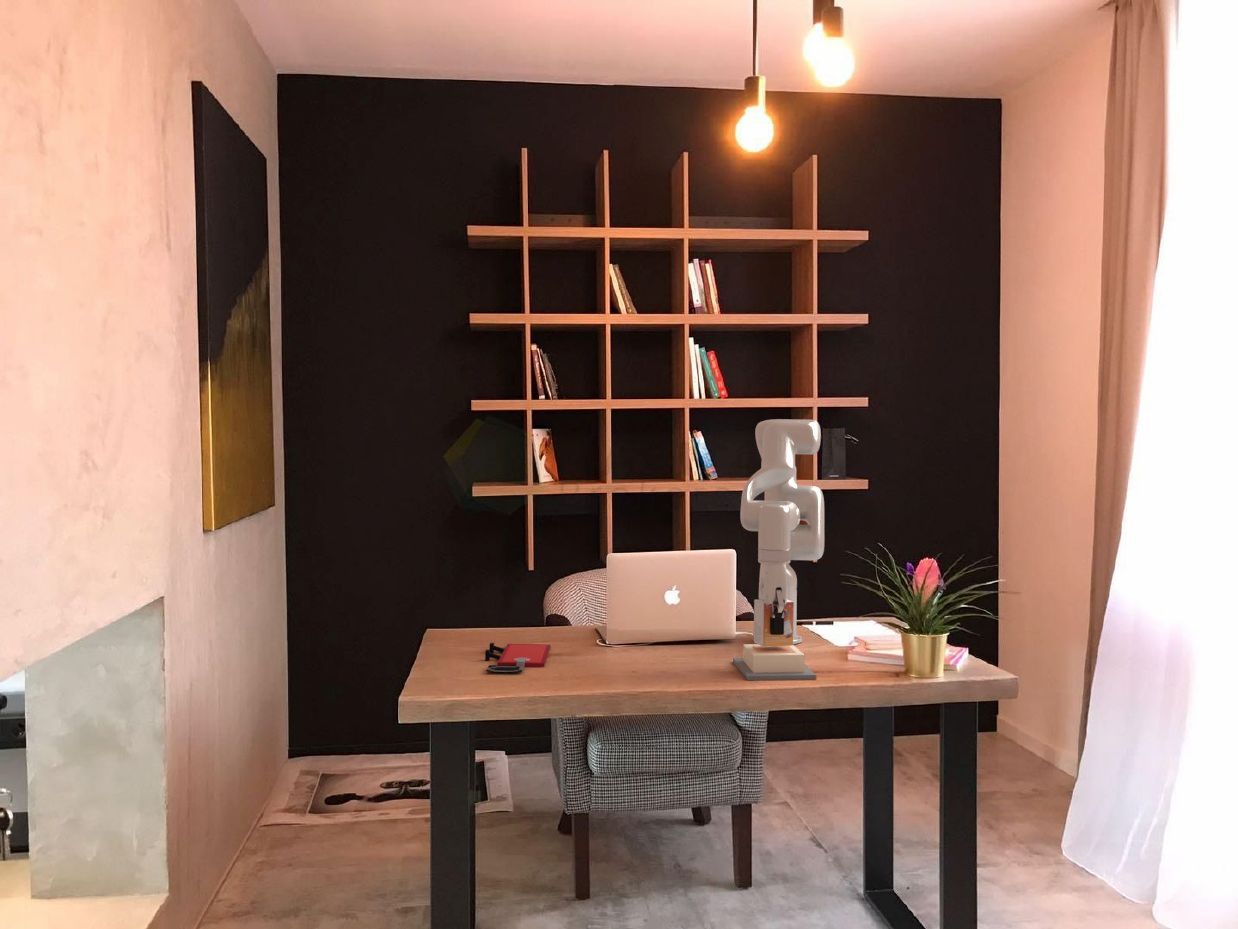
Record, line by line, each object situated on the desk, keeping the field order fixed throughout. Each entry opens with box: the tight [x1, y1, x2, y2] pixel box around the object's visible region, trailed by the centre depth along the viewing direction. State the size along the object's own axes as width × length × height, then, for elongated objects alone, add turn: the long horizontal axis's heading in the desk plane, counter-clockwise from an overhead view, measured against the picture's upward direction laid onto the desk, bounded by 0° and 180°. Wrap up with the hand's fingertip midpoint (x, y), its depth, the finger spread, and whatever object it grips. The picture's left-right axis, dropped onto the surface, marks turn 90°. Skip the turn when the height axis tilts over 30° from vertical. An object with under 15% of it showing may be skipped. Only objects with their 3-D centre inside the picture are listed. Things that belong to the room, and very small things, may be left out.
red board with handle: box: [484, 642, 551, 673], centre depth 250 cm, size 30×3×15 cm
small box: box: [753, 598, 794, 647], centre depth 240 cm, size 8×6×10 cm
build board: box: [732, 643, 817, 681], centre depth 240 cm, size 18×16×5 cm
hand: (773, 630), depth 240 cm, fingers closed on small box, 6 cm apart
